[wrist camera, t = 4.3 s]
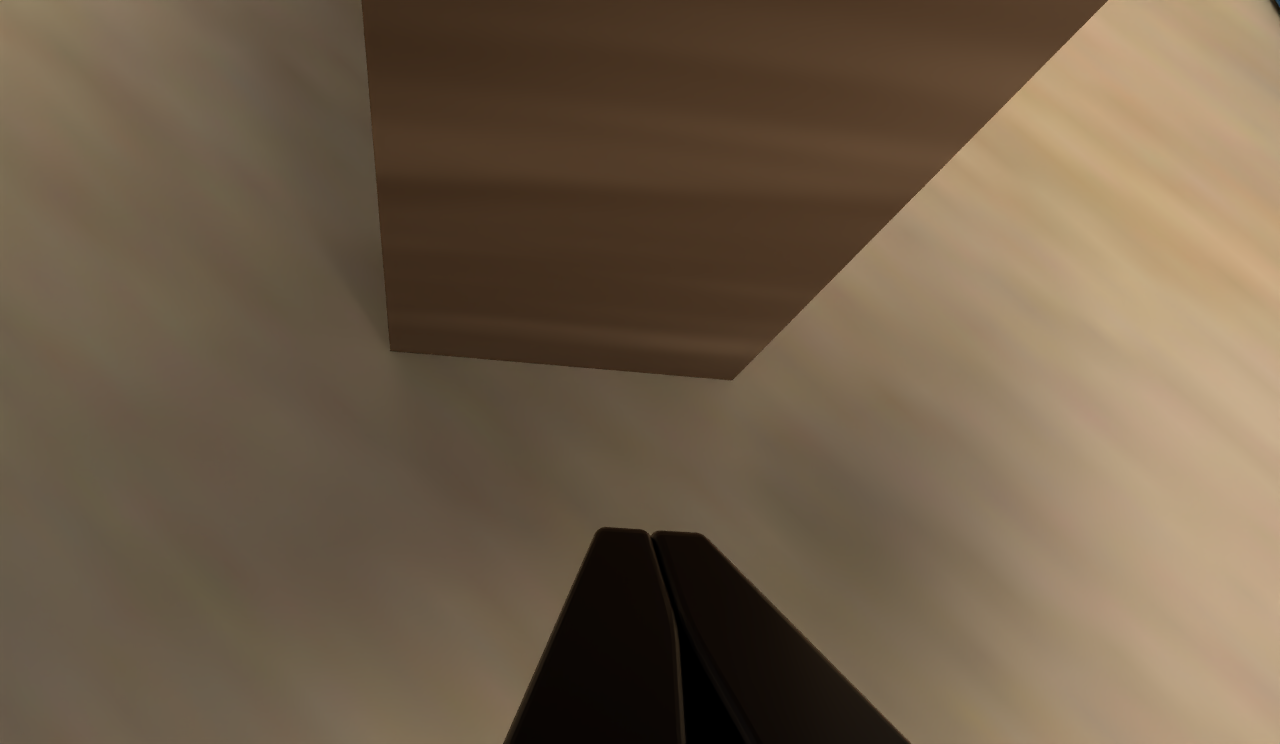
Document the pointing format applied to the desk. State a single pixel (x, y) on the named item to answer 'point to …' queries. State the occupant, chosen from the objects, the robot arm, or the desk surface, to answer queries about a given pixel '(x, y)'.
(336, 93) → the desk surface
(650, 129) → the domino
